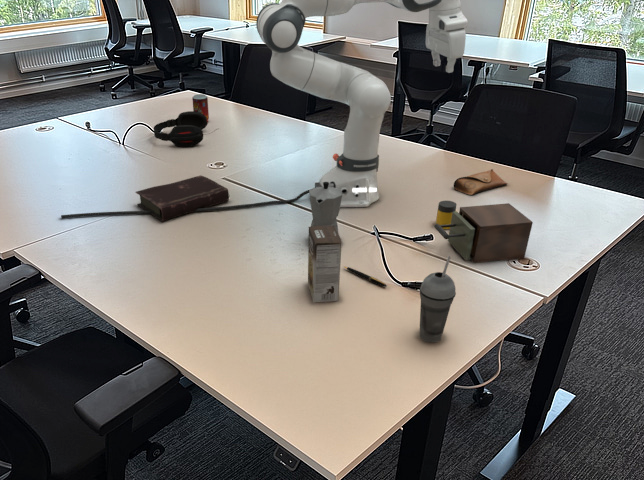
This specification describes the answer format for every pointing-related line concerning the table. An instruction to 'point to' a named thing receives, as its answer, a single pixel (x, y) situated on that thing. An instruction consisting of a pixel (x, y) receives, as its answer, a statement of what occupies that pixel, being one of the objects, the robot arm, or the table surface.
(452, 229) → the drawer
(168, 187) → the diary
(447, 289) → the beverage cup
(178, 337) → the table surface
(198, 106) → the soda can
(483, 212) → the cabinet
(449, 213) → the yellow jar
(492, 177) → the sunglasses case
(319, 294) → the coffee box
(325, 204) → the coffeepot
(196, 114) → the headset
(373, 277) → the fountain pen
